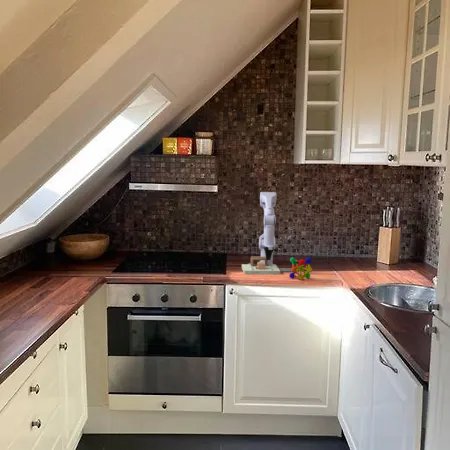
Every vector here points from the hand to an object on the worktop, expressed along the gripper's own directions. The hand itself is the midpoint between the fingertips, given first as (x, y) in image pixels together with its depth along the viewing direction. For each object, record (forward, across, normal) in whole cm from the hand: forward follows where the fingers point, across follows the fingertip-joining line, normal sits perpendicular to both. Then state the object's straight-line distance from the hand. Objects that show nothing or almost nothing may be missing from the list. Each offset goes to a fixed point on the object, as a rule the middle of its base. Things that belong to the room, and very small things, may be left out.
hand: (268, 259), depth 273 cm
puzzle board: (+6, +1, -4) cm, 8 cm away
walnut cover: (+4, -6, -4) cm, 8 cm away
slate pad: (+6, 0, +11) cm, 12 cm away
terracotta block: (+6, +3, -4) cm, 8 cm away
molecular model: (+6, +19, +15) cm, 25 cm away
